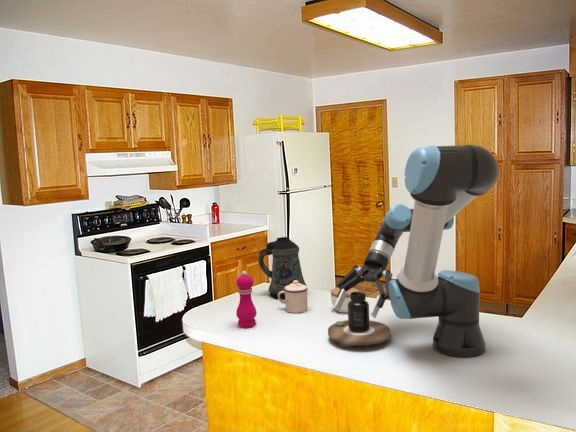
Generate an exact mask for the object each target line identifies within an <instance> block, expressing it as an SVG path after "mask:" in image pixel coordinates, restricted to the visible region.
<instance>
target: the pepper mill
mask: <svg viewBox="0 0 576 432" xmlns="http://www.w3.org/2000/svg"><path fill="white" fill-rule="evenodd" d="M235 282H236V283H235V284H236V286H237V288H238V294H239V303H238V306H237V308H236V312H235V314H236V318H237V319H238V321H237V325H238V326H237V327H239V328H241V329H249V328H253V327H255V326H256V325H257V324H256V322H257V321H256V319H255V318H256V316H257V310H256V306H255V305H254V303H253V300H252V293H253V288H252V286H253V285H254V279H253V277H252V276H250V275H248V273H247V271H246V270H243V271H241V275H239V276H238V277H237V279H236V281H235Z"/></svg>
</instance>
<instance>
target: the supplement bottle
mask: <svg viewBox="0 0 576 432" xmlns="http://www.w3.org/2000/svg"><path fill="white" fill-rule="evenodd" d="M366 296H367V295H366V292H364V291H359V292H352V293H351V297H350V299H351V301H350V302H349V303H348V313H347V320H348V327H349V330H350V331H352V332H356V333H362V332H366V331H368V330H369V328H370V322H369V320H370V304H369V302H368V301H367V300H366V299H367V298H366Z"/></svg>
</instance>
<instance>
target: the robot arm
mask: <svg viewBox="0 0 576 432" xmlns="http://www.w3.org/2000/svg"><path fill="white" fill-rule="evenodd" d="M404 176H405V177H404V186H405V188H406V190H407V191H408V193H409V195H410V197H411V198H412V199H413V201H414V202H413V208H409V207H408V206H407V205H405V204H402V203H401V204H400V203H398V204H395V205H393V206H391V208H390V209H389V210H388V211H387V212H386V214H385V217H384V218H383V220H382V221H381V223H380V226H379V229H378V230H377V233H376V235H375V237H374V240H373V241H372V243H371V246H370V248H369V250H368V253H367V255H366V257H365V259H364V261H363V265H362V266H358V264H354V265H353V267H352V268H351V270H350V271H349V272H348V273H347V274H346V275H345V276H343V277H342V278H341V279H340V280H339V282H337V283H336V287H337V288H339V289H340V291H339V293H338V295H337V298H338V299H337V301H336V303H335V305H334V306H335V307H336V308H337V309H338V310H340V309H341V307H342V304H343V302H344V300H345V298H346V296H347V292H346V291H348V290H349V289H351V288H355V286H357V285H359V284H360V283H364V282H371V283H375V284H376V286H377V290H378V292H379V294H377V296H376V298H375V300H374V304H373V305H372V307H371V310H370V311H369V315H371V316H372V318H373V319H376V318H377V315H378V313H379V310H380V309H382V308H383V307H384V304H385V302H386V300H387V299H388V300H389V301H390V305H391V308H392V311H393V313H394V315H395V316H396V317H397V318H398V319H399V320H400V319H401V320H412V319H413V320H414V319H423V318H425V319H426V318H437V317H438V323H437V325H436V328H435V331H434V334H433V337H432V348H433V349H434V351H437V352H439V353H440V354H443V355H446V356H450V357H458V358H473V357H474V358H475V357H478V356H481V355H482V354H484V353H485V352H486V341H485V338H484V335H483V333H482V329H481V326H480V294H481V290H480V288H481V287H480V281H479V279H478V277H476V276H475V275H473V274H470V273H467V272H463V271H457V270H450V269H449V270H448V269H447V270H446V269H445V270H444V269H443V270H440V271H438V273H437V275H436V269H437V263H438V259H439V255H440V254H439V253H440V248H441V242H442V238H443V233H444V231H445V230H449V229H452V227H453V226H454V225H453V224H455V223H454V222H455V216H456V215H457V214H458V213H460V212H462V210H463V209H464V208H465V207H466V206H467V205H469V204H470V203H471V202H472V201H473V200H474V199H476V198H477V197H481V196H483V195H485V194H487V193H488V192H490V191H491V190H492V188H493V187H494V186H495V185H496V183H497V181H498V179H499V177H500V167H499V162H498V161H497V158H496V157H495V155H494V154H493V153H492V152H491V151H490V150H488V149H487V148H485V147H483V146H480V145H476V144H475V145H474V144H466V145H465V144H464V145H463V144H462V145H437V146H436V145H429V146H423V147H421V146H420V147H417V148H416V149H414V150H413V151H412V152H411V153H410V154H409V156H408V158H407V160H406V163H405V168H404ZM404 233H409V235H408V236H409V237H408V241H407V248H406V255H405V261H404V265H403V268H401V269H400V270H399V271H398V273H397V275H396V276H397V277H396V279H392V278H393V277H392V276H393V273H392V272H391V269H390V268H388V269H387V267H388V265H389V261H390V260H391V257H392V255H393V254H394V250H395V248H396V247H397V244H398V242H399V239H400V238H401V236H402V235H403V234H404ZM383 276H384V281H385V285H384V286H385V289H384V286H383V284H382V281H381V278H382V277H383ZM345 287H346V288H345ZM334 306H333V307H334ZM335 307H334V308H335ZM336 308H335V309H336ZM337 309H336V310H337Z"/></svg>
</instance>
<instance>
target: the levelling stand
mask: <svg viewBox="0 0 576 432" xmlns="http://www.w3.org/2000/svg"><path fill="white" fill-rule="evenodd" d="M369 322H370V328H369V330H368V331H366V332H362V333H356V332H352V331H350V330H349V327H348V319H347V320H337V321H335V322H334V323H333V324H331V325H330V326H329V327H328V329H327V335H328V337H329V339H331V340H333V341H335V342H337V343H339V347H340V348H341V349H345V350H346V349H352V348H354V346H373V345H377V344H384V343H387V342H388V340H389V339H390V337H391V329H390V327H389V326H388V325H386V324H384V323H382V322H379V321H376V320H370V319H369Z"/></svg>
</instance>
